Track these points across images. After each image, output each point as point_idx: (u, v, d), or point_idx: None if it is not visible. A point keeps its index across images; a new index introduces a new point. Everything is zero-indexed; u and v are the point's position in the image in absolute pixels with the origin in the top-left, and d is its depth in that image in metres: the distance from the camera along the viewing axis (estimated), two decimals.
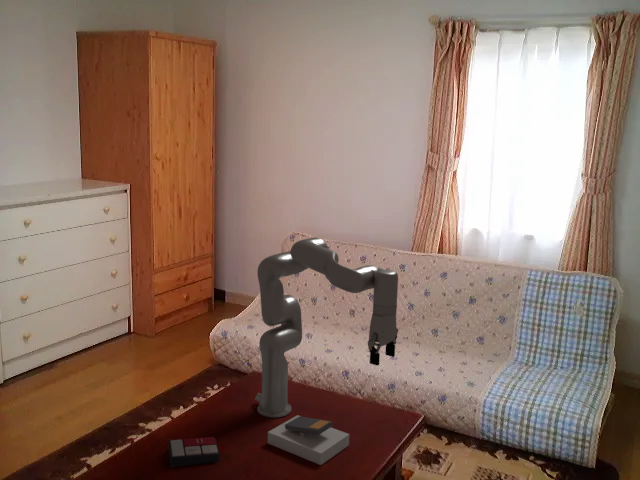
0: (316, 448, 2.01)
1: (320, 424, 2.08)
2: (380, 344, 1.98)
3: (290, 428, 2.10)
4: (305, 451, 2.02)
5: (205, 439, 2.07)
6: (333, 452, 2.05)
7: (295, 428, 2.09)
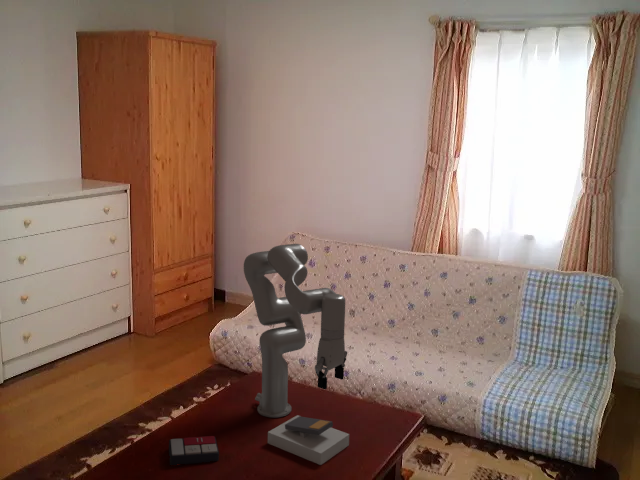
0: (316, 448, 2.01)
1: (320, 424, 2.08)
2: (327, 368, 1.99)
3: (290, 428, 2.10)
4: (305, 451, 2.02)
5: (205, 438, 2.07)
6: (333, 452, 2.05)
7: (295, 428, 2.09)
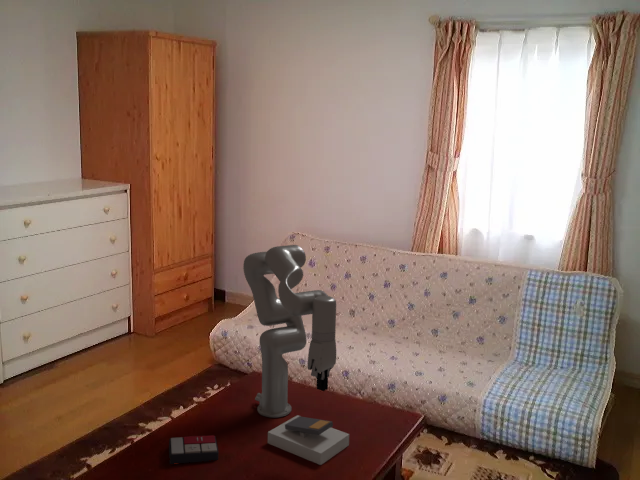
0: (316, 448, 2.01)
1: (320, 424, 2.08)
2: (318, 370, 1.99)
3: (290, 428, 2.10)
4: (305, 451, 2.02)
5: (205, 437, 2.08)
6: (333, 452, 2.05)
7: (295, 428, 2.09)
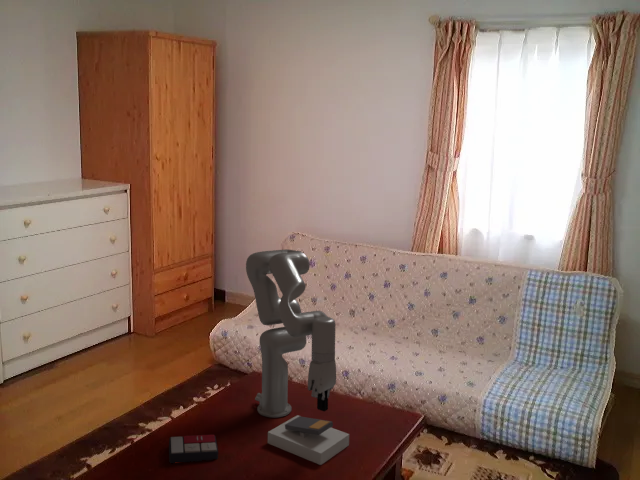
0: (316, 448, 2.01)
1: (320, 424, 2.08)
2: (318, 391, 2.00)
3: (290, 428, 2.10)
4: (305, 451, 2.02)
5: (205, 437, 2.08)
6: (333, 452, 2.05)
7: (295, 428, 2.09)
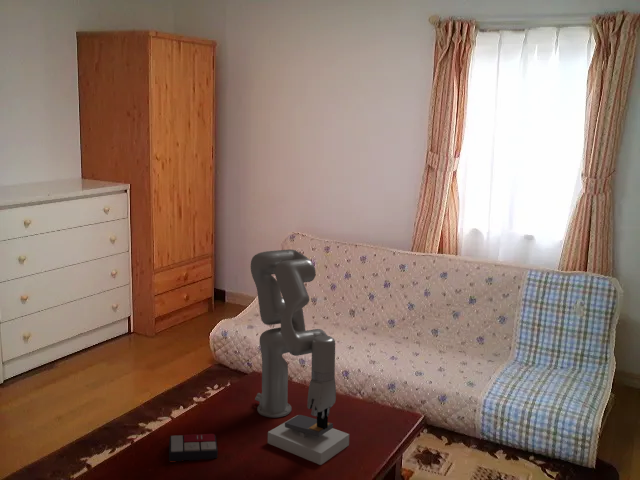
0: (316, 448, 2.01)
1: None
2: (318, 410, 2.01)
3: (290, 427, 2.10)
4: (305, 451, 2.02)
5: (205, 436, 2.09)
6: (333, 452, 2.05)
7: (295, 427, 2.09)
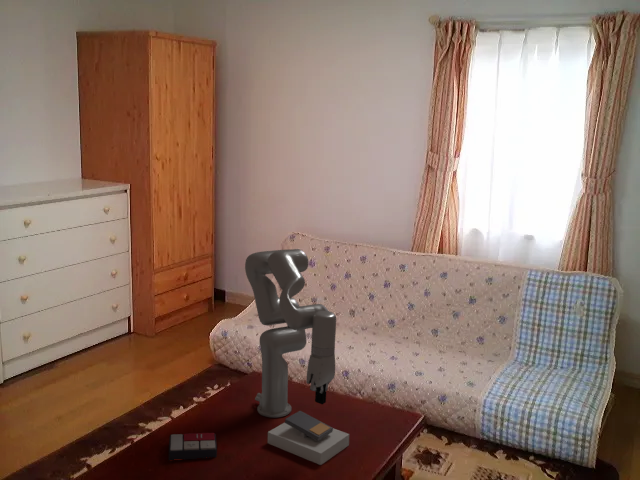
0: (316, 448, 2.01)
1: (321, 429, 2.08)
2: (317, 385, 2.00)
3: (290, 424, 2.10)
4: (305, 451, 2.02)
5: (205, 434, 2.10)
6: (333, 452, 2.05)
7: (295, 425, 2.09)
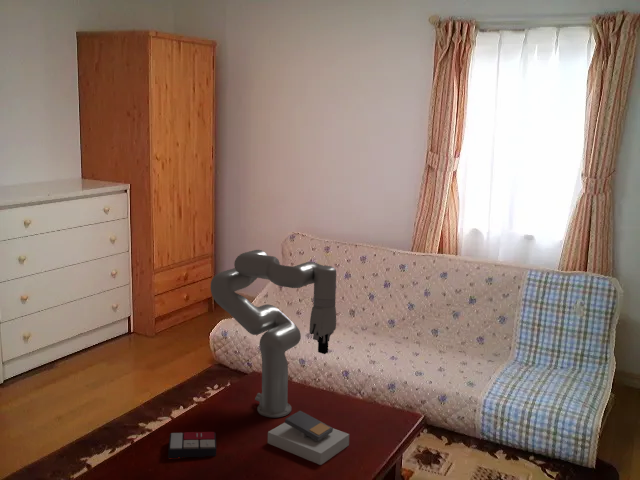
0: (316, 448, 2.01)
1: (321, 429, 2.08)
2: (319, 334, 2.15)
3: (290, 424, 2.10)
4: (305, 451, 2.02)
5: (205, 433, 2.10)
6: (333, 452, 2.05)
7: (295, 425, 2.09)
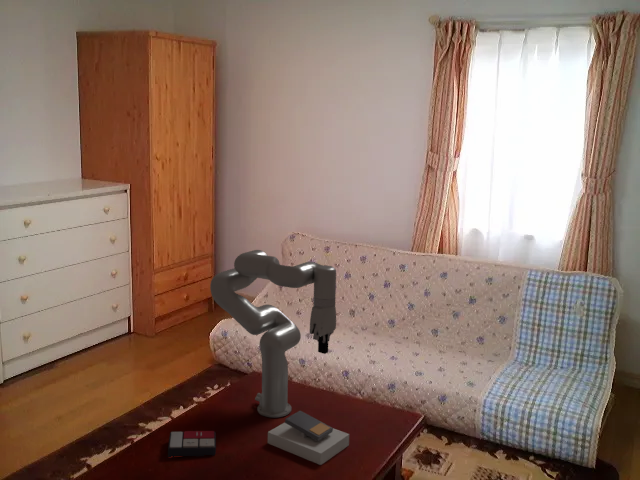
0: (316, 448, 2.01)
1: (321, 429, 2.08)
2: (319, 334, 2.15)
3: (290, 424, 2.10)
4: (305, 451, 2.02)
5: (205, 432, 2.11)
6: (333, 452, 2.05)
7: (295, 425, 2.09)
